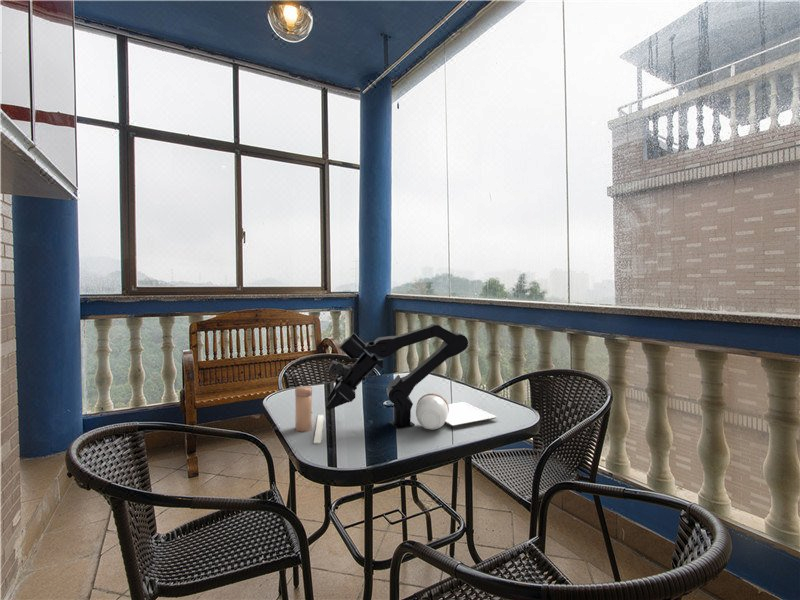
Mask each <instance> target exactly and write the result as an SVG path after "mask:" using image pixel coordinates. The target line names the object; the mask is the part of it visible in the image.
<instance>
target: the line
mask: <svg viewBox="0 0 800 600" xmlns="http://www.w3.org/2000/svg"><path fill="white" fill-rule="evenodd" d="M324 418H325V414H318V415H317V418H316V425H315V430H314V431H315V433H314V439H313V444H314V445H315V444H321V443H322V437H323V426H324Z"/></svg>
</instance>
